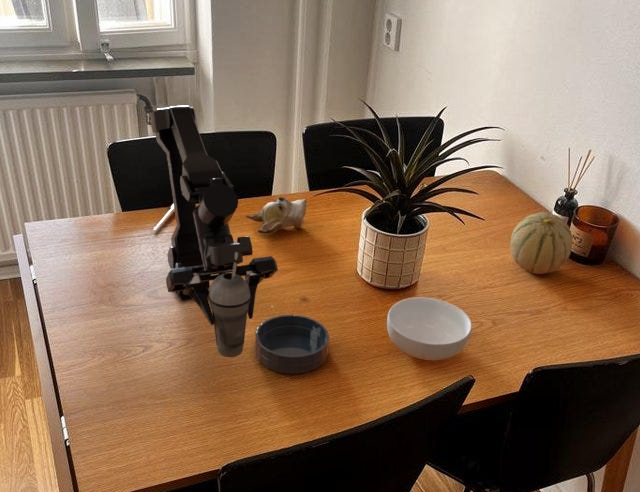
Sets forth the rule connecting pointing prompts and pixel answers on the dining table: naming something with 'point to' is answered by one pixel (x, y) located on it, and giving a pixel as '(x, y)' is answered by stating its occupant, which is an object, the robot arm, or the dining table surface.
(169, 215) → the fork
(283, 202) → the ceramic sculpture
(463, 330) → the cereal bowl
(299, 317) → the dark gray pet bowl
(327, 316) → the dining table surface
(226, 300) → the beverage cup
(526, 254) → the cantaloupe
